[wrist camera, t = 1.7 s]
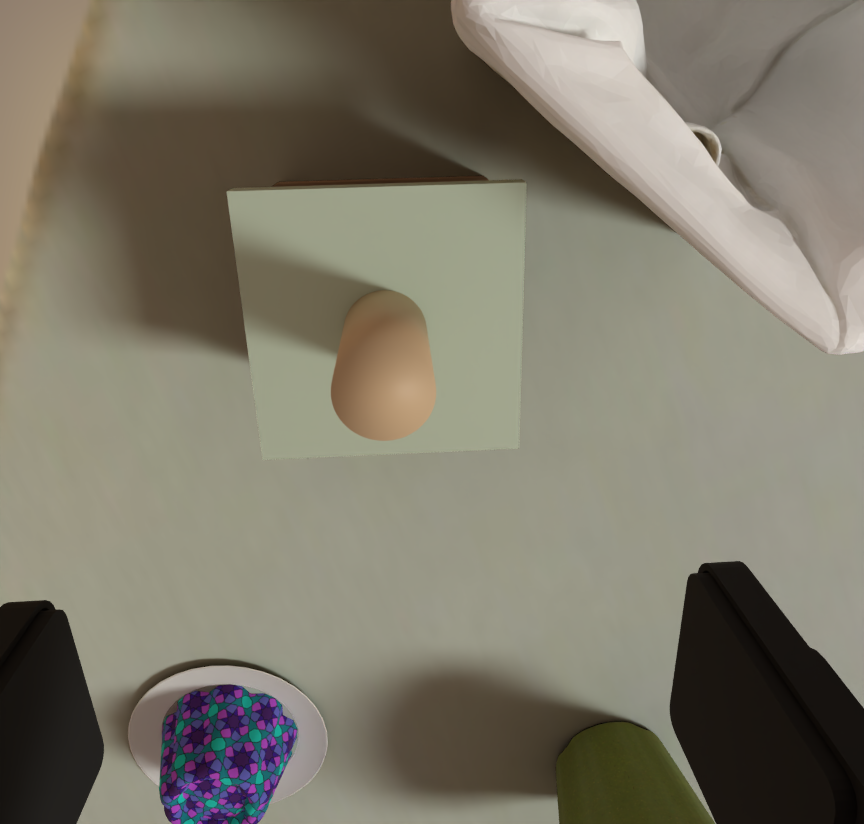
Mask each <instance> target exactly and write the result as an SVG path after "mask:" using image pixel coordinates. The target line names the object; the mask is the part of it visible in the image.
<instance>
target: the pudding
mask: <svg viewBox="0 0 864 824" xmlns="http://www.w3.org/2000/svg"><path fill="white" fill-rule="evenodd" d="M217 684H228V685H219V686H217V687H216V688H214V689H213V690H212V691H211V692H209V693H208V692H200V691H194V692H191V691H193V690H196V689H199V688H202V687H205V686H211V685H217ZM232 684H234V685H232ZM237 685H243V686H247V687H251V688H255V689H258V690H260V691H263V692H265V693H267V694H269V695H271V696H272V697H271V696H269V695H267V694H265V693H264V694H250V693H249V692H248V691H247V690H246V689H244V688H243V687H242V686H237ZM189 692H191V693H189ZM187 693H189V694H187ZM185 694H186V695H185ZM182 696H183V697H182ZM181 697H182V698H181ZM180 698H181V699H180ZM275 698H276V699H277V700H278V701H280V702H281V703H282V704H283V705H284V706H285V707H286V708H287V709H288V710H289V711H290V713H291V714H292V716H293V718H294V719H295V721H296V724H297V727H298V735H299V739H298V745H297V748H296V751H295V753H294V755H293V756H292V758H291V759H290V757H291V755H292V751H291V749H292V747H293V744H294V742H295V740H296V738H297V727H296V725H295V723H294V721H293V720H291V719H289V718H287V717H285V716H283V713H282V705H281V704H280V703H279V702H278V701H277V700H276V699H275ZM178 699H180V700H179V701H178V705H177V712H175V713H173V714H171V715H169V716H167V717H166V719H165V721H164V723H163V720H164V717H165V715H166V713H167V711H168V710H169V708H170V707H171V706H172V705H173V704H174V703H175V702H176V701H177V700H178ZM162 723H163V729H162ZM128 741H129V745H130V750H131V752H132V755H133V757H134V759H135V761H136V763H137V764H138V766H139V767H140V768H141V770H142V771H143V772H144V774H145V775H146V776H147V777H148V778H149V779H151V780H152V781H153V782H154V783H155V784H156V785H158V786H159V791H160V799H161V802H162V804H163V805H164V811H165V814H166V817H167V818H168V820H169V821H170V822H171V823H172V824H257V823H258V822H259V821H260V820H261V819H262V817H263V816H264V814H265V812H266V810H267V808H268V806H269V804H271V803H275V802H278V801H280V800H282V799H284V798H287V797H289V796H291V795H293V794H294V793H296V792H297V791H299V790H300V789H302V788H303V787H304V786H305V785H306V784H308V783H309V782H310V781H311V780H312V779H313V778H314V776H315V775H316V774H317V772H318V771H319V770H320V768H321V766H322V764H323V761H324V759H325V757H326V752H327V746H328V738H327V730H326V727H325V723H324V720H323V718H322V716H321V715H320V713H319V711H318V709H317V708H316V706H315V705H314V704H313V703H312V702H311V701H310V699H309V698H308V697H307V696H306V695H305V694H303V693H302V692H301V691H300V690H298V689H297V688H296V687H295V686H293V685H291V684H289V683H288V682H286V681H284V680H282V679H281V678H278V677H276V676H273V675H271V674H268V673H266V672H263V671H258V670H254V669H250V668H246V667H236V666H207V667H201V668H195V669H190V670H187V671H184V672H181V673H178V674H175V675H173V676H171V677H169V678H167V679H165V680H163V681H161V682H159V683H158V684H157V685H155V686H154V687H153V688H151V689H150V690H149V691H148V692H147V693H146V694H145V695H144V696H143V697H142V698H141V699H140V700H139V702H138V703H137V705H136V707H135V709H134V710H133V712H132V715H131V718H130V722H129V725H128ZM289 759H290V761H289ZM288 761H289V762H288Z"/></svg>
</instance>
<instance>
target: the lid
mask: <svg viewBox="0 0 864 824" xmlns="http://www.w3.org/2000/svg"><path fill="white" fill-rule="evenodd" d="M526 193H527V182H525V181H524V180H522V179H520V180H486V181H452V182H419V183H385V184H352V185H318V186H285V187H251V188H232V189H230V190H228V191H227V199H228V206H229V214H230V221H231V229H232V236H233V244H234V251H235V259H236V266H237V274H238V281H239V289H240V296H241V303H242V311H243V318H244V326H245V333H246V341H247V348H248V356H249V363H250V371H251V378H252V386H253V393H254V400H255V408H256V415H257V423H258V430H259V438H260V445H261V453H262V460H275V459H297V458H320V457H342V456H365V455H387V454H409V453H432V452H454V451H477V450H499V449H519V434H520V399H521V365H522V330H523V296H524V261H525V227H526Z"/></svg>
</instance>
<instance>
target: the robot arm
mask: <svg viewBox="0 0 864 824" xmlns="http://www.w3.org/2000/svg"><path fill="white" fill-rule="evenodd" d="M670 716H671V722H672V726H673V729H674V731H675V734H676V736H677V738H678V740H679V742H680V745H681V747H682V749H683V751H684V753H685V756H686V758H687V760H688V762H689V764H690V767H691V769H692V771H693V773H694V776H695V778H696V780H697V782H698V784H699V787H700V789H701V791H702V793H703V795H704V798H705V800H706V802H707V804H708V806H709V809H710V811H711V813H712V815H713V817H714V820H715V822H716V824H864V708H863V707H862V706H861V704H860V703H859V702H858V701H857V699H856V698H855V697H854V695H853V694H852V693H851V692H850V690H849V689H848V688H847V687H846V685H845V684H844V683H843V681H842V680H841V679H840V678H839V676H838V675H837V674H836V673H835V671H834V670H833V669H832V667H831V666H830V665H829V664H828V662H827V661H826V660H825V659H824V658H823V657H822V656H821V655H820V654H819V653H818V652H817V651H816V650H814V649H812V648H810V647H809V646H808V645H807V643H806V642H805V641H804V640H803V638H802V637H801V636H800V634H799V633H798V632H797V630H796V629H795V628H794V627H793V625H792V624H791V623H790V621H789V620H788V619H787V618H786V616H785V615H784V614H783V612H782V611H781V610H780V608H779V607H778V606H777V605H776V603H775V602H774V601H773V599H772V598H771V597H770V596H769V594H768V593H767V592H766V590H765V589H764V588H763V586H762V585H761V584H760V583H759V581H758V580H757V579H756V577H755V576H754V575H753V573H752V572H751V571H750V570H749V568H748V567H747V566H746V565H745V564H744V563H743V562H740V561H735V562H717V563H704V564H702V565H701V566H700V568H699V571H698V573H694V574H690V576H689V577H688V581H687V587H686V594H685V601H684V608H683V615H682V622H681V629H680V636H679V643H678V650H677V658H676V665H675V672H674V679H673V686H672V693H671V700H670ZM103 754H104V744H103V739H102V735H101V732H100V729H99V725H98V722H97V718H96V715H95V711H94V708H93V704H92V701H91V698H90V694H89V691H88V687H87V684H86V680H85V677H84V673H83V670H82V667H81V663H80V660H79V656H78V653H77V649H76V646H75V643H74V639H73V636H72V632H71V629H70V625H69V622H68V618H67V616H66V614H65V612H64V611H63V610H55V607H54V605H53V604H52V603H51V602H50V601H46V600H42V601H25V602H8V603H6V604H3V605H2V606H1V607H0V824H76V823H77V821H78V819H79V816H80V814H81V812H82V809H83V807H84V805H85V803H86V800H87V798H88V796H89V793H90V791H91V789H92V786H93V784H94V782H95V780H96V777H97V775H98V773H99V770H100V768H101V765H102V760H103Z"/></svg>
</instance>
